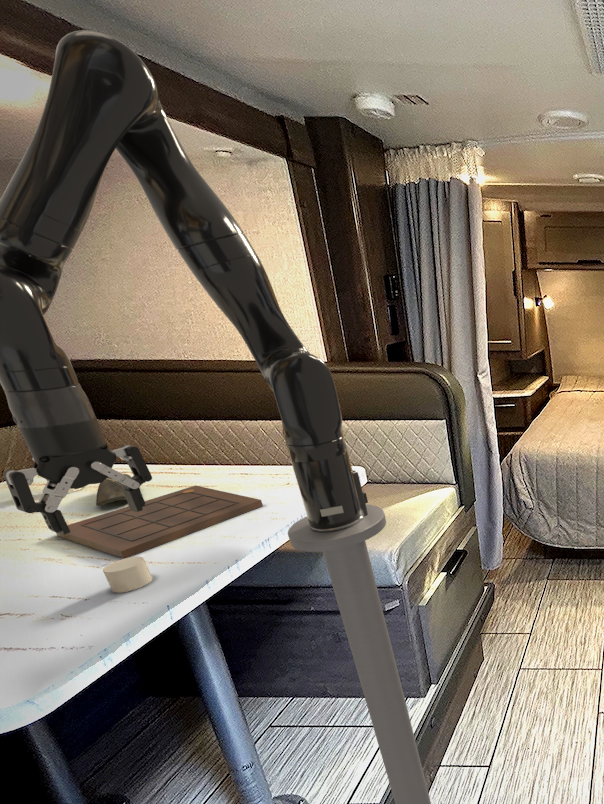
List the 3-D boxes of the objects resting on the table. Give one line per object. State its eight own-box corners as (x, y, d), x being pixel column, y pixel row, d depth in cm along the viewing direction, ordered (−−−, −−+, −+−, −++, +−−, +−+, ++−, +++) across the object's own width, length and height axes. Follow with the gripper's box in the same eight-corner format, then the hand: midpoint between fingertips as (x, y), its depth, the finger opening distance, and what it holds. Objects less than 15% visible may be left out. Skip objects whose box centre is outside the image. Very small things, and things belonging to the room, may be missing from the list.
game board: (197, 491, 118) (195, 484, 118) (263, 506, 109) (260, 499, 109) (57, 536, 98) (53, 528, 97) (124, 558, 89) (120, 550, 88)
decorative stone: (138, 504, 111) (131, 487, 110) (97, 513, 107) (89, 495, 106) (141, 483, 123) (134, 467, 122) (104, 490, 119) (97, 474, 118)
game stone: (143, 573, 84) (134, 554, 83) (159, 579, 82) (150, 559, 81) (105, 589, 80) (95, 568, 78) (122, 595, 78) (112, 574, 77)
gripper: (-7, 434, 64) (49, 546, 70) (134, 410, 76) (171, 507, 82) (-31, 428, 66) (24, 537, 72) (108, 406, 79) (146, 500, 85)
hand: (102, 521), depth 77 cm, fingers open, 8 cm apart
